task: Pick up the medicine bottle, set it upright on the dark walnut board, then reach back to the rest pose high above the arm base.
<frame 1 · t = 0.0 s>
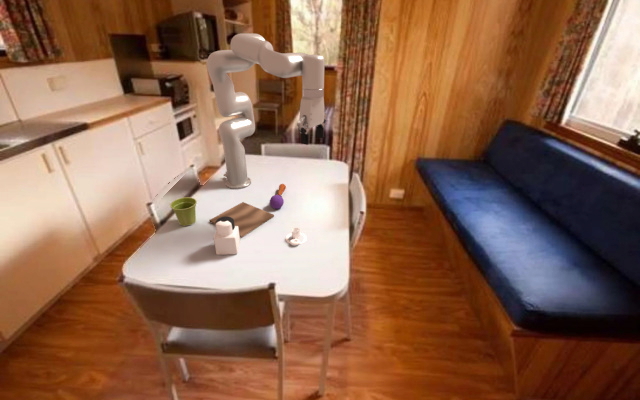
hand: (312, 140, 117), 31 cm above the table, tool pointing down, fingers open, 9 cm apart
purple maraca: (279, 200, 140), on the table
walnut board: (242, 219, 125), on the table
plant pot: (187, 222, 122), on the table
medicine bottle: (228, 248, 108), on the table
white rounded piece: (288, 241, 114), on the table
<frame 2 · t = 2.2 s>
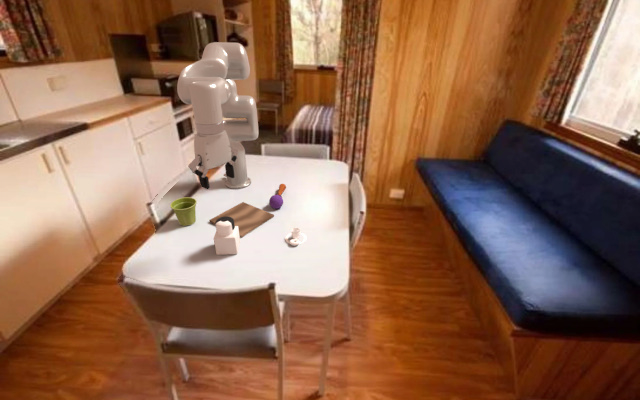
hand: (218, 182, 96), 26 cm above the table, tool pointing down, fingers open, 9 cm apart
nothing on the table moved.
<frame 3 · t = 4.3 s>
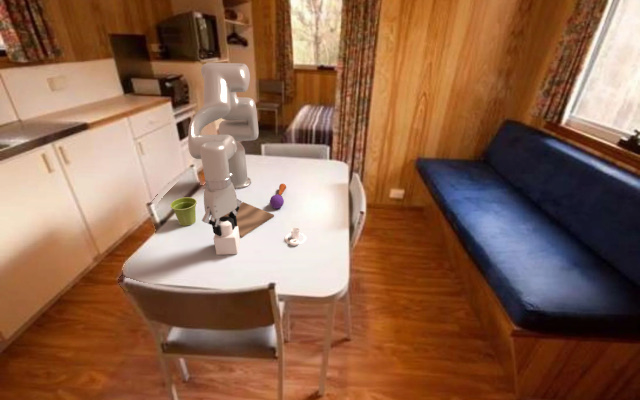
hand: (225, 229, 104), 8 cm above the table, tool pointing down, fingers closed on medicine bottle, 6 cm apart
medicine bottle: (228, 248, 108), on the table, touching gripper
everything else where it was.
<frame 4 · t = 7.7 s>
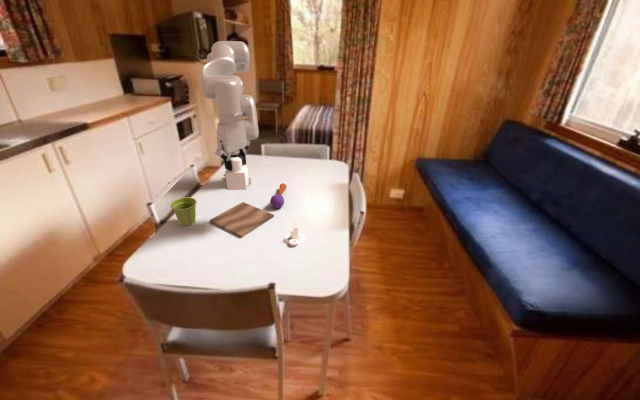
hand: (235, 166, 114), 23 cm above the table, tool pointing down, fingers closed on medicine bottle, 6 cm apart
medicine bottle: (238, 186, 118), point 15 cm above the table, touching gripper
everything else where it was.
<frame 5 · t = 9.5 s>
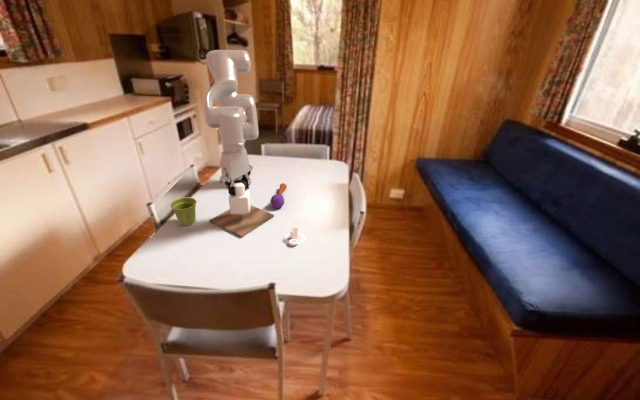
hand: (239, 191, 118), 13 cm above the table, tool pointing down, fingers closed on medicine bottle, 6 cm apart
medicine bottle: (241, 209, 122), point 5 cm above the table, touching gripper
everything else where it was.
when the fingers open (11 cm above the table, at t = 10.9 s): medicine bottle drops 2 cm, resting on walnut board.
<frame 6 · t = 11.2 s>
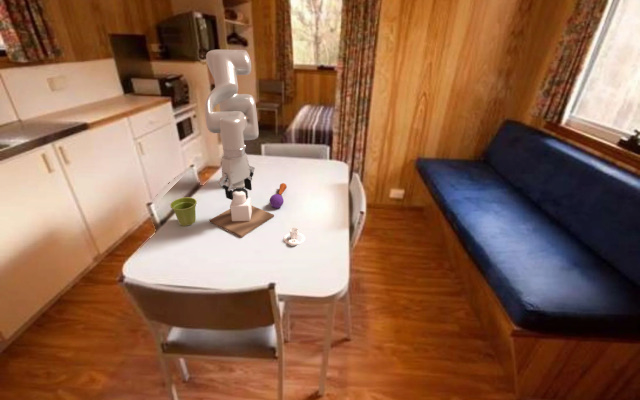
hand: (239, 193, 119), 12 cm above the table, tool pointing down, fingers open, 9 cm apart
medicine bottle: (242, 217, 125), point 1 cm above the table, touching walnut board
everything else where it was.
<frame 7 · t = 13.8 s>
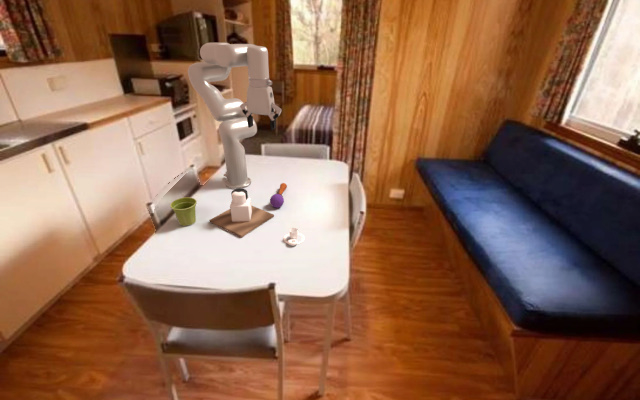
hand: (261, 128, 123), 33 cm above the table, tool pointing down, fingers open, 9 cm apart
nothing on the table moved.
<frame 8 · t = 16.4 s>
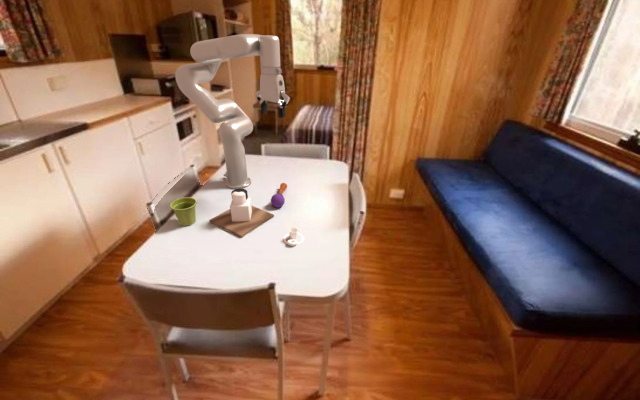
hand: (273, 115, 128), 36 cm above the table, tool pointing down, fingers open, 9 cm apart
at the end: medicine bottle inside the target area on the walnut board (0.2 cm from its centre), point 0.8 cm above the walnut board's base; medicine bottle tilted 0°; the gripper is holding nothing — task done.
